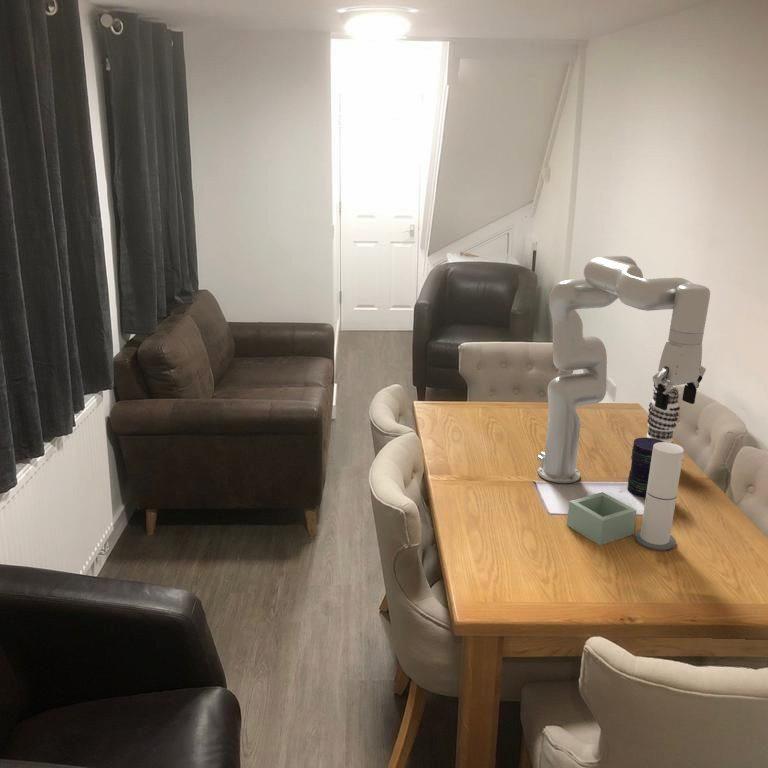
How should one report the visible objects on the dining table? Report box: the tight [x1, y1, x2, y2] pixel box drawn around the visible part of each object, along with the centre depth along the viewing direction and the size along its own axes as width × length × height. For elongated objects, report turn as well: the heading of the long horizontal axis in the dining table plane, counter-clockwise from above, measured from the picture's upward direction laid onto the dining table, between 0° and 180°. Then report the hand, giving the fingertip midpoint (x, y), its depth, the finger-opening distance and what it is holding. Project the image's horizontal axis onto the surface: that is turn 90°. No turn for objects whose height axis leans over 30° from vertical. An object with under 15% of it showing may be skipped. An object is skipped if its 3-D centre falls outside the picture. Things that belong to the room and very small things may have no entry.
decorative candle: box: [645, 384, 681, 444], centre depth 247 cm, size 9×9×25 cm
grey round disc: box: [634, 529, 677, 552], centre depth 201 cm, size 10×10×1 cm
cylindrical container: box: [640, 442, 685, 545], centre depth 197 cm, size 7×7×25 cm
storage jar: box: [626, 437, 664, 499], centre depth 227 cm, size 10×10×15 cm
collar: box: [566, 491, 637, 546], centre depth 205 cm, size 12×12×7 cm
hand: (674, 405), depth 190 cm, fingers open, 9 cm apart
